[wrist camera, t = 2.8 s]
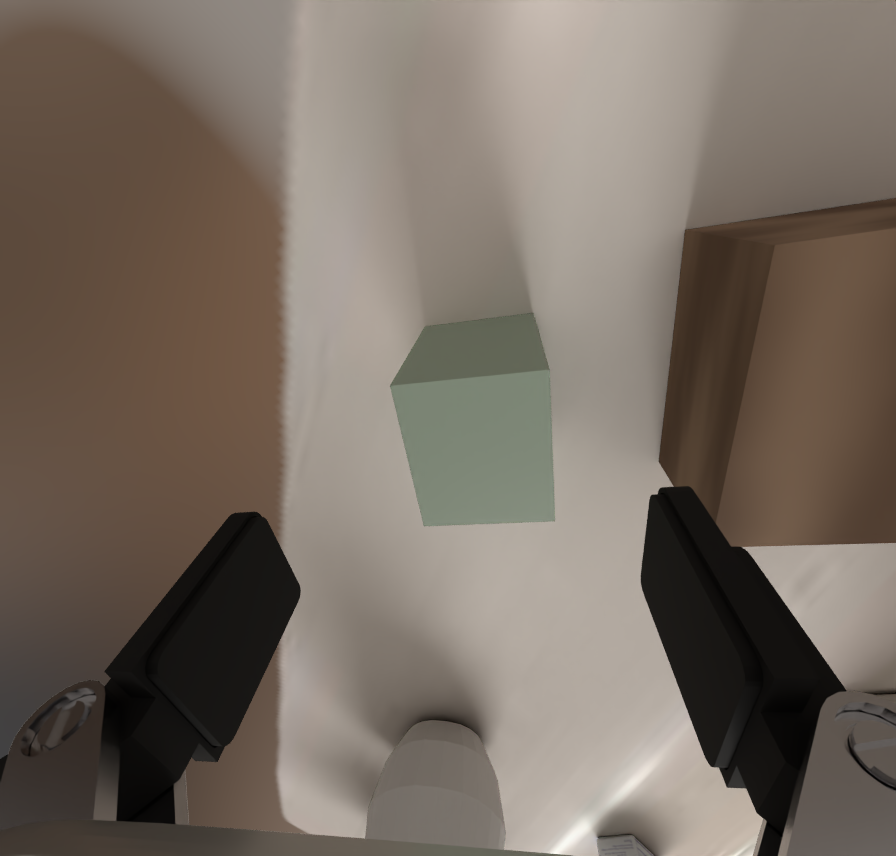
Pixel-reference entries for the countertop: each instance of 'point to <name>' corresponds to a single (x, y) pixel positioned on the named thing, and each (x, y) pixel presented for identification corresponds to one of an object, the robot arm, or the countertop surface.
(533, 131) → the countertop surface
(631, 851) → the medicine box
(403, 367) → the sage block
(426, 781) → the white vase
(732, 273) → the walnut riser
